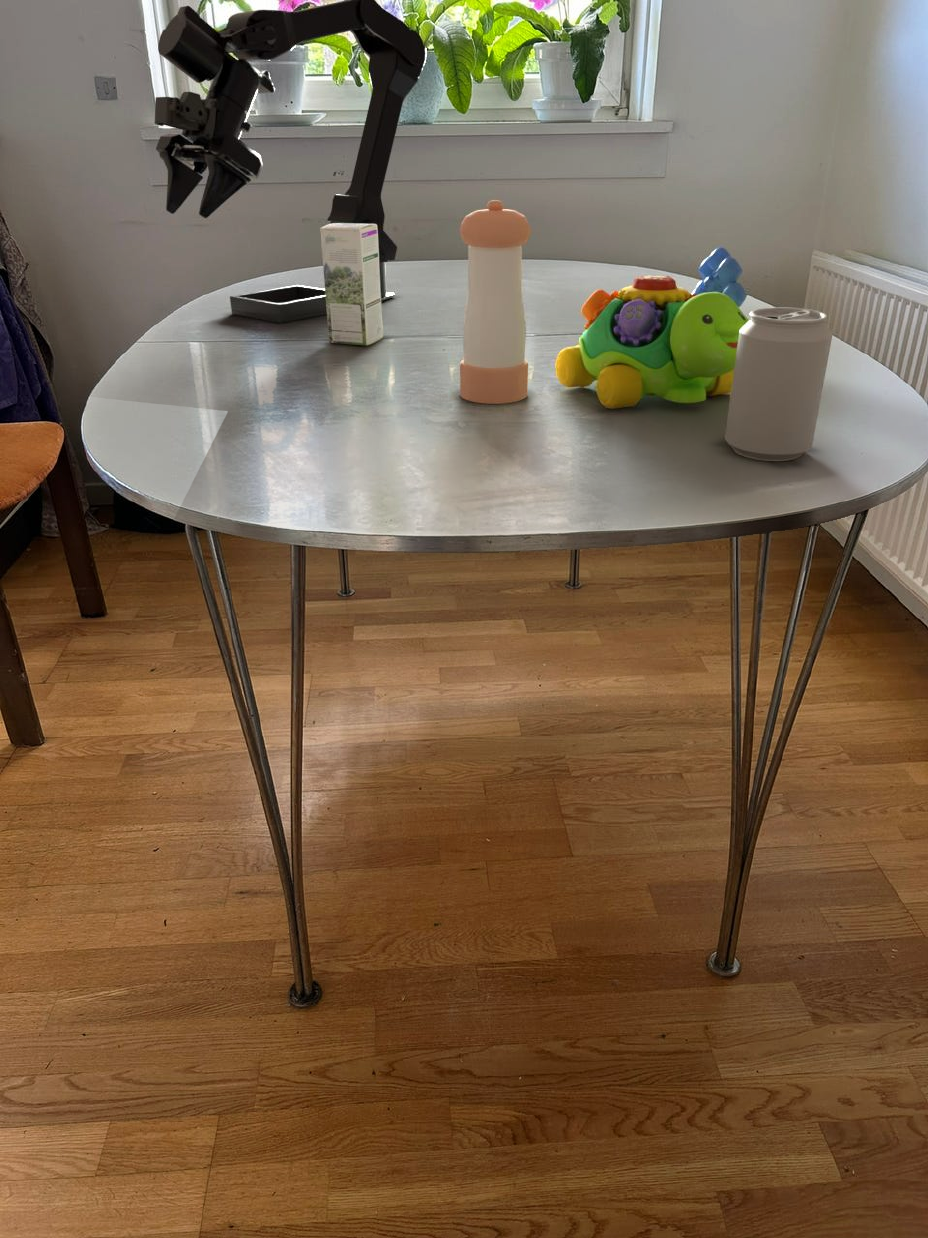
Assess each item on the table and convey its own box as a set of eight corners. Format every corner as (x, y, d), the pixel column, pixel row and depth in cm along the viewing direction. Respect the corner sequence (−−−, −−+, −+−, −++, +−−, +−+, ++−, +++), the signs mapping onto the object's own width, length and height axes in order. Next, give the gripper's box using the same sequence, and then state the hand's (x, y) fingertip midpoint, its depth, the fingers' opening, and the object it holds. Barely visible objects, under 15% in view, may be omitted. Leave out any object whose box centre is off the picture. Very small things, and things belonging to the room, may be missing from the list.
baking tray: (298, 301, 150) (297, 284, 148) (348, 309, 143) (347, 292, 142) (231, 313, 140) (229, 296, 139) (281, 323, 134) (279, 304, 133)
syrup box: (384, 337, 125) (379, 222, 118) (366, 346, 120) (359, 226, 113) (346, 335, 126) (338, 221, 119) (327, 344, 121) (318, 225, 114)
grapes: (665, 340, 122) (674, 243, 116) (712, 337, 123) (724, 242, 117) (699, 359, 112) (711, 255, 106) (751, 357, 113) (765, 253, 107)
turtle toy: (654, 437, 85) (666, 306, 80) (538, 379, 104) (542, 270, 98) (797, 415, 91) (818, 291, 86) (663, 364, 110) (673, 260, 104)
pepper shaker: (454, 402, 96) (452, 203, 87) (465, 385, 102) (464, 197, 93) (523, 405, 95) (528, 203, 86) (530, 387, 101) (536, 197, 92)
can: (712, 439, 85) (729, 304, 79) (790, 436, 85) (813, 302, 80) (740, 466, 78) (761, 321, 72) (825, 462, 79) (853, 319, 73)
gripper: (143, 68, 124) (102, 178, 125) (213, 62, 112) (167, 184, 113) (211, 119, 133) (172, 221, 134) (283, 118, 121) (239, 231, 122)
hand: (185, 214), depth 126 cm, fingers open, 9 cm apart
